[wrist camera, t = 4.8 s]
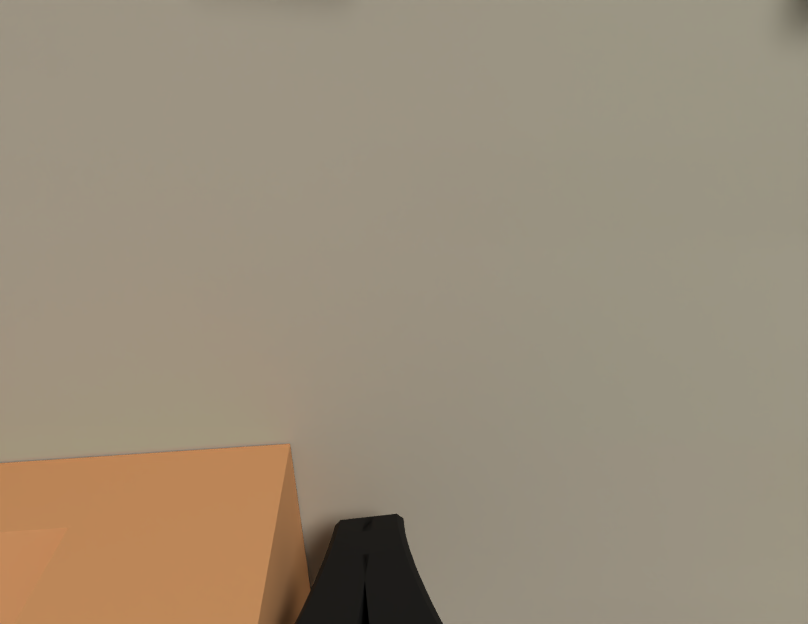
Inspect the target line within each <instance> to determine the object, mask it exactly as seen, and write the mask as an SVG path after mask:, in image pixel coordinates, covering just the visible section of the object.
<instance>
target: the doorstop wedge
mask: <svg viewBox="0 0 808 624" xmlns="http://www.w3.org/2000/svg"><path fill="white" fill-rule="evenodd" d="M310 591H311V589H310V582H309V575H308V568H307V561H306V554H305V547H304V540H303V533H302V526H301V518H300V511H299V504H298V497H297V490H296V483H295V476H294V469H293V462H292V455H291V447H290V444H281V445H266V446H251V447H236V448H221V449H206V450H191V451H176V452H161V453H146V454H131V455H116V456H101V457H87V458H72V459H57V460H42V461H27V462H12V463H0V624H294V623H295V622H296V620H297V618H298V616H299V614H300V612H301V610H302V608H303V606H304V603H305V601H306V599H307V597H308V595H309V593H310Z"/></svg>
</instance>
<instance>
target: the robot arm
mask: <svg viewBox="0 0 808 624" xmlns="http://www.w3.org/2000/svg"><path fill="white" fill-rule="evenodd" d="M294 624H443V623H442V621H441V619H440V618H439V616H438V614H437V612H436V610H435V608H434V606H433V604H432V602H431V600H430V597H429V595H428V593H427V591H426V589H425V587H424V584H423V582H422V580H421V578H420V576H419V573H418V571H417V568H416V566H415V563H414V560H413V557H412V555H411V552H410V549H409V545H408V542H407V538H406V534H405V528H404V520H403V518H402V517H400V516H399V515H398V514H392V515H383V516H374V517H365V518H356V519H347V520H340V521H339V522H338V523H337V525H336V526H335V529H334V532H333V536H332V539H331V542H330V545H329V547H328V550H327V553H326V555H325V558H324V561H323V563H322V565H321V568H320V570H319V573H318V575H317V577H316V580H315V582H314V584H313V586H312V588H311V591H310V593H309V595H308V597H307V599H306V601H305V603H304V606H303V608H302V610H301V612H300V614H299V616H298V618H297V620H296V622H295V623H294Z"/></svg>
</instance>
